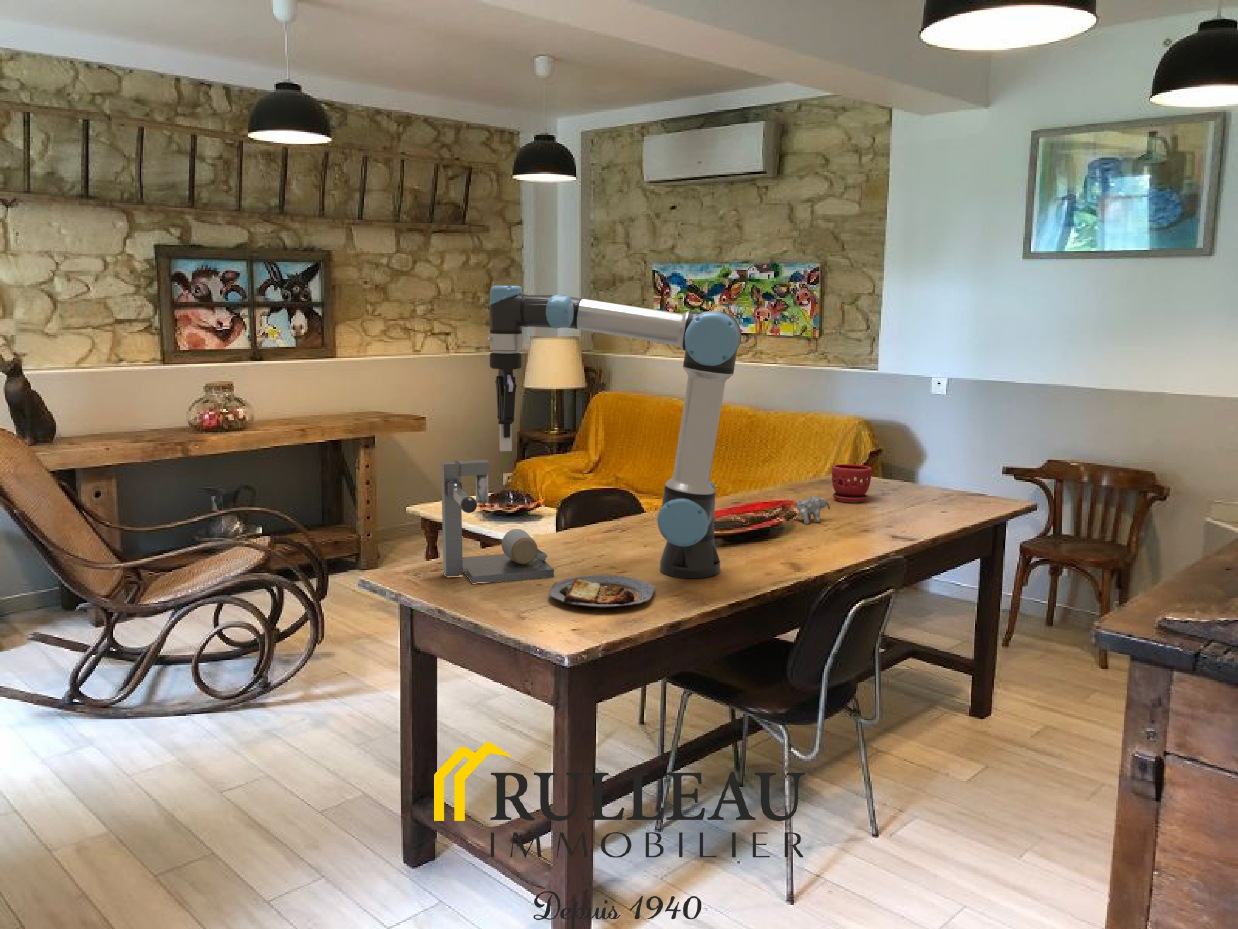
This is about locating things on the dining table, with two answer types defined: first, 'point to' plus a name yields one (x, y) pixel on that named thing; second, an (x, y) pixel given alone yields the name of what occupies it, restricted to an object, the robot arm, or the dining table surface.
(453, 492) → the lever
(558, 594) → the food plate
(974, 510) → the dining table surface
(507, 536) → the ceramic mug
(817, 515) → the elephant statuette
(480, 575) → the press
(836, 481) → the plant pot
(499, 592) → the dining table surface
